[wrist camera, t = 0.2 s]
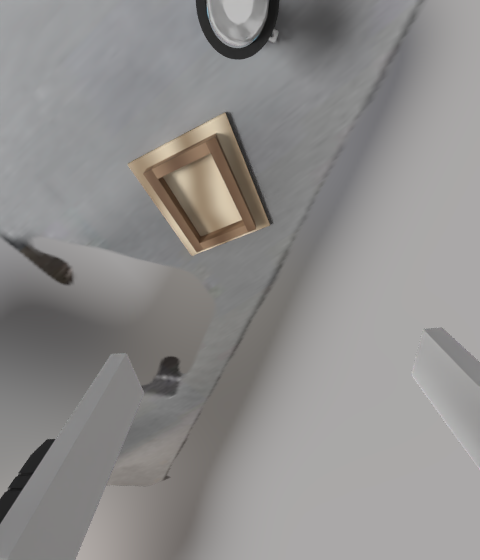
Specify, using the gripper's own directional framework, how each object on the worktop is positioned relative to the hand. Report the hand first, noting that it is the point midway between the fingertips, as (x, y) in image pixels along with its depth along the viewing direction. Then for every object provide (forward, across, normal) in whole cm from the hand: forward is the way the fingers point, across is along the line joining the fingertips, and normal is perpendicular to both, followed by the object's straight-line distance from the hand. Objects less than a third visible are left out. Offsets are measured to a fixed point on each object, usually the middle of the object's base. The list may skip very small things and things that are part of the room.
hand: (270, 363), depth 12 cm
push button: (+23, +1, +19) cm, 30 cm away
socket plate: (+27, -6, +4) cm, 28 cm away
